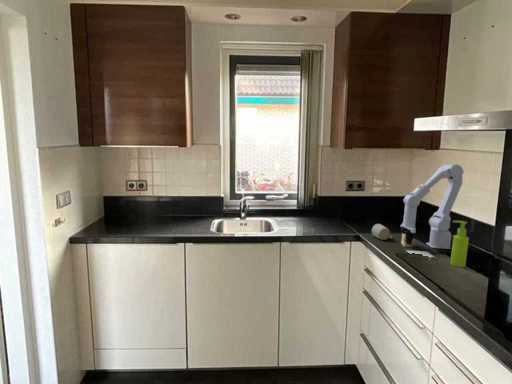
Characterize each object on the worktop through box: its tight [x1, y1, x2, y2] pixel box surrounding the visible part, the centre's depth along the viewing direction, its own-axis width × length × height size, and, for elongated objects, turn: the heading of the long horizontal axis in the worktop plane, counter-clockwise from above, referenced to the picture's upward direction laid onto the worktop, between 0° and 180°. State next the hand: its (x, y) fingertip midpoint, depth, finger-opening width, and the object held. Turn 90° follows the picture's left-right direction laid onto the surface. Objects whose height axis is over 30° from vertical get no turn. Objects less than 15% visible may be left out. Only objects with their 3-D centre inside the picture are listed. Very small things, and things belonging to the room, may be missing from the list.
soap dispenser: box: [450, 220, 470, 268], centre depth 151 cm, size 6×7×20 cm
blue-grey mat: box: [405, 249, 435, 258], centre depth 165 cm, size 14×12×1 cm
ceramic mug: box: [371, 223, 393, 241], centre depth 192 cm, size 11×8×8 cm
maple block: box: [400, 232, 415, 248], centre depth 179 cm, size 4×4×6 cm
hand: (407, 242), depth 179 cm, fingers closed on maple block, 4 cm apart
